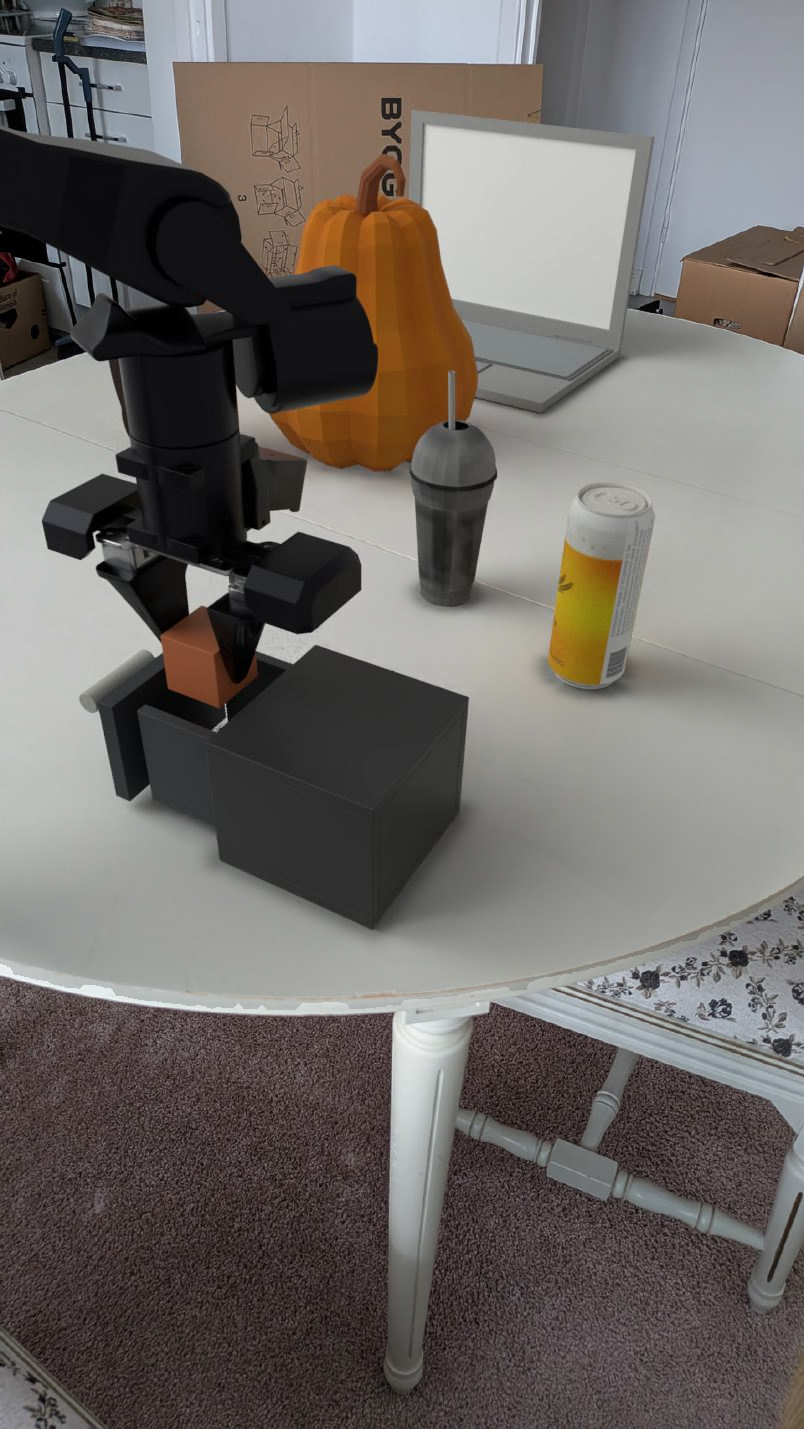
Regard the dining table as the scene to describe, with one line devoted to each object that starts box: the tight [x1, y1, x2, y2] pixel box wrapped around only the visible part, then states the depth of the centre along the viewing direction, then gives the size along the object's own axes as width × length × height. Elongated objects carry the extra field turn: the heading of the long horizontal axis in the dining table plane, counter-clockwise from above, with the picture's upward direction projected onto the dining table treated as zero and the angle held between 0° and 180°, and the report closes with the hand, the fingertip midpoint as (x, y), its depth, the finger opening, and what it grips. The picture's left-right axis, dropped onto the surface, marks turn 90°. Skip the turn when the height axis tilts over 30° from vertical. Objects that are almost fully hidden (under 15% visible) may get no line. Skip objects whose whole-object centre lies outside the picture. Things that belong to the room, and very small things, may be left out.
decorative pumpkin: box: [268, 153, 478, 473], centre depth 104 cm, size 24×24×30 cm
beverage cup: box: [408, 371, 498, 607], centre depth 82 cm, size 7×7×20 cm
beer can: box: [547, 481, 656, 690], centre depth 75 cm, size 6×6×15 cm
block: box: [160, 605, 258, 708], centre depth 61 cm, size 4×4×4 cm
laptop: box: [408, 109, 655, 414], centre depth 130 cm, size 35×26×27 cm
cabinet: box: [205, 644, 470, 930], centre depth 61 cm, size 11×12×10 cm
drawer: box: [78, 649, 294, 828], centre depth 66 cm, size 14×10×8 cm
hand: (211, 669), depth 62 cm, fingers closed on block, 4 cm apart
